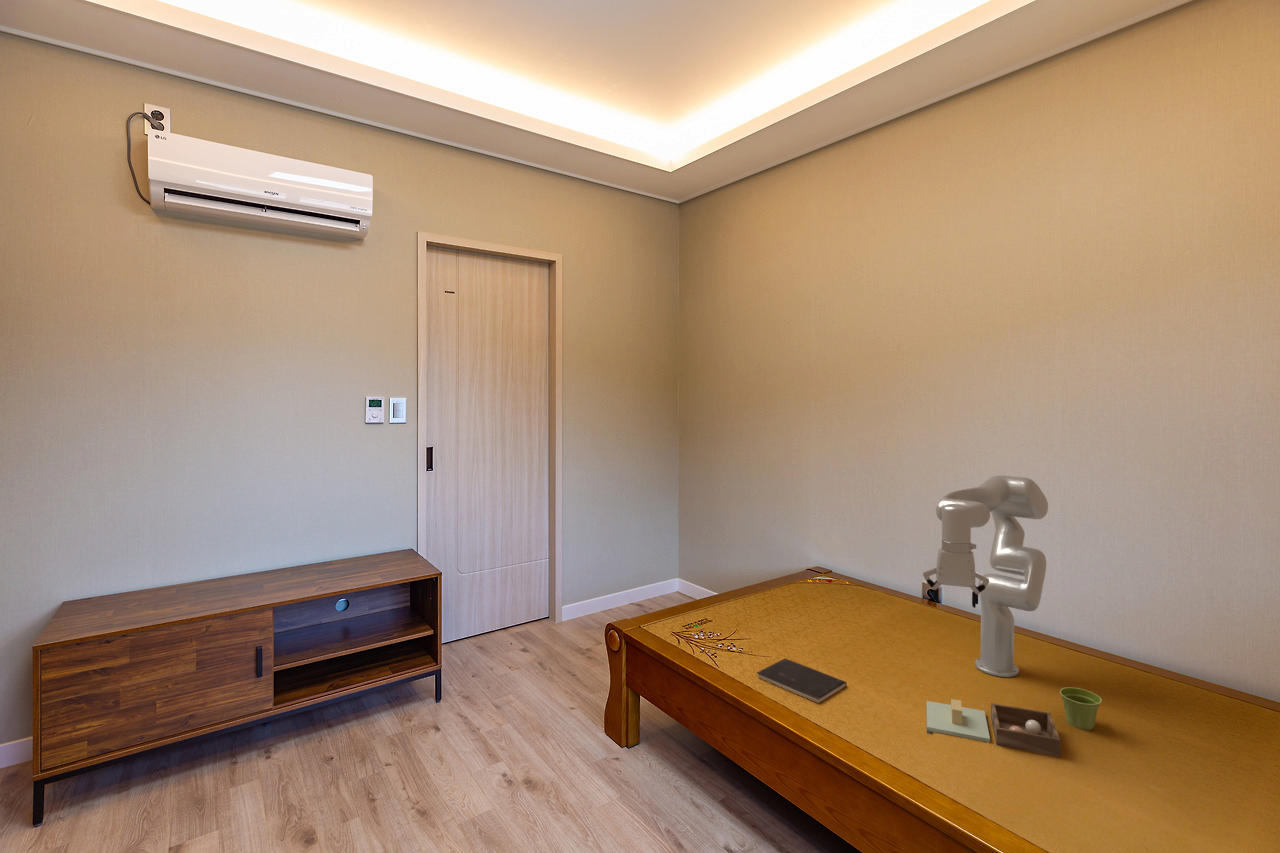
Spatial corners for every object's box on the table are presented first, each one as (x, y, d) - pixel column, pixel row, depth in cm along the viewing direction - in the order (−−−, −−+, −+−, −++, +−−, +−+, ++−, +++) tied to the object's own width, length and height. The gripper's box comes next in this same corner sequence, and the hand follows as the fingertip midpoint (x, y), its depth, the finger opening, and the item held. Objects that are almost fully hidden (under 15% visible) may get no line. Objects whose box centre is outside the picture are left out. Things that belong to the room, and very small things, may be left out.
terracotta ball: (1007, 734, 165) (1007, 721, 164) (1023, 737, 163) (1023, 724, 163) (1009, 741, 161) (1009, 728, 161) (1025, 745, 160) (1025, 731, 160)
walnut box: (990, 720, 173) (991, 702, 173) (1049, 730, 167) (1050, 712, 167) (996, 746, 160) (996, 728, 160) (1060, 759, 155) (1060, 740, 154)
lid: (926, 704, 181) (926, 687, 181) (984, 714, 175) (984, 697, 175) (927, 730, 168) (927, 712, 167) (989, 742, 161) (990, 724, 161)
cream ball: (1024, 728, 167) (1024, 716, 167) (1039, 731, 166) (1040, 718, 166) (1026, 735, 164) (1026, 722, 164) (1042, 738, 163) (1042, 725, 162)
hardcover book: (818, 705, 184) (818, 698, 184) (756, 679, 201) (756, 672, 201) (846, 688, 194) (846, 681, 194) (786, 664, 212) (786, 657, 211)
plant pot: (1083, 738, 164) (1084, 706, 163) (1050, 719, 173) (1051, 689, 172) (1109, 732, 166) (1110, 701, 166) (1076, 714, 175) (1077, 684, 175)
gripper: (988, 546, 179) (987, 603, 180) (923, 541, 186) (922, 596, 187) (991, 552, 172) (990, 612, 173) (923, 547, 179) (922, 604, 180)
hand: (955, 604), depth 180 cm, fingers open, 9 cm apart
